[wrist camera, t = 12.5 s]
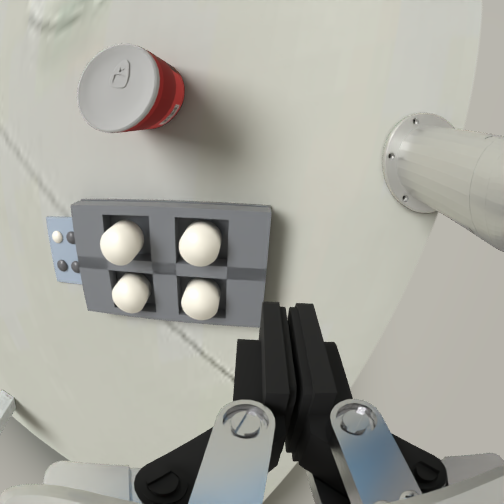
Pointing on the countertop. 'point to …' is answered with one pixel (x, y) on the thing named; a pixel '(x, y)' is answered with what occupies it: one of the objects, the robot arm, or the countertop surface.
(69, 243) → the button board
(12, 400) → the skincare box
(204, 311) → the button
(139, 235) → the button
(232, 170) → the countertop surface
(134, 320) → the countertop surface
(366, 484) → the robot arm
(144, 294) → the button
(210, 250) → the button
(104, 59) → the canned food
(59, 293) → the countertop surface
